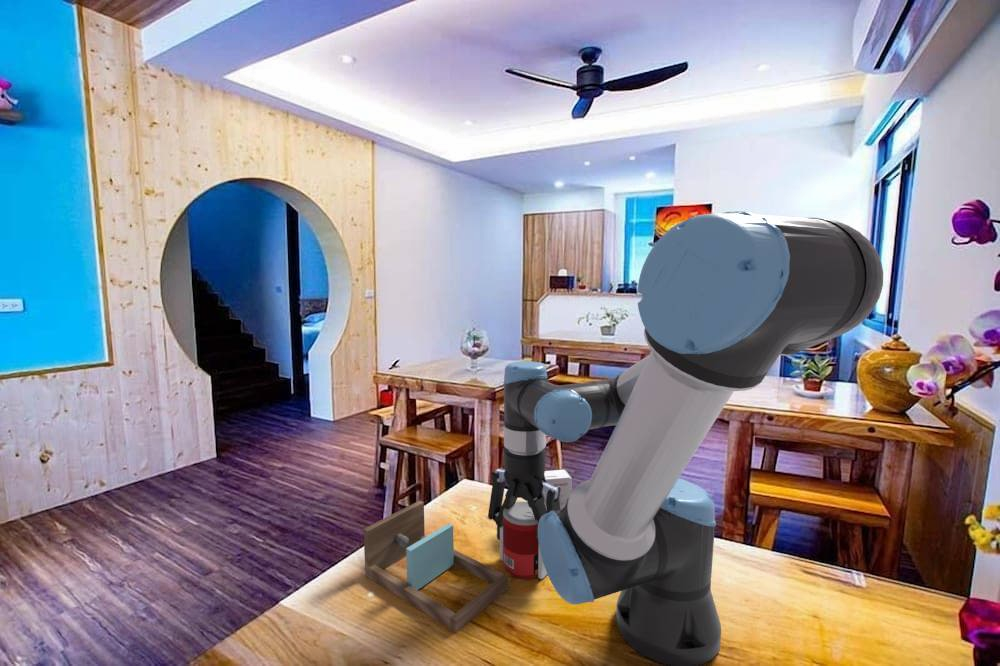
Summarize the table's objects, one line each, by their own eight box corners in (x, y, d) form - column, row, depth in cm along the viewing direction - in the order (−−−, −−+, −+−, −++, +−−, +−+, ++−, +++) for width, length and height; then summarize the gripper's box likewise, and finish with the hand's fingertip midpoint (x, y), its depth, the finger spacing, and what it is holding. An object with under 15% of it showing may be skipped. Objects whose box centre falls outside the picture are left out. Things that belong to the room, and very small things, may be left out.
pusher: (453, 564, 89) (453, 525, 88) (412, 593, 81) (410, 550, 80) (441, 558, 91) (440, 519, 90) (399, 586, 83) (398, 544, 82)
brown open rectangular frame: (509, 587, 83) (509, 538, 82) (456, 633, 72) (455, 578, 71) (420, 542, 96) (419, 500, 95) (365, 575, 86) (363, 528, 85)
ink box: (565, 518, 106) (566, 467, 104) (572, 530, 101) (573, 477, 99) (527, 521, 104) (527, 470, 103) (532, 534, 99) (532, 480, 98)
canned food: (543, 582, 84) (544, 524, 82) (499, 577, 85) (499, 519, 84) (548, 557, 91) (548, 503, 90) (507, 552, 93) (507, 499, 92)
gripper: (587, 455, 82) (584, 577, 85) (492, 430, 95) (493, 537, 98) (564, 469, 76) (562, 600, 79) (467, 441, 89) (468, 554, 92)
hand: (524, 565), depth 88 cm, fingers closed on canned food, 8 cm apart
